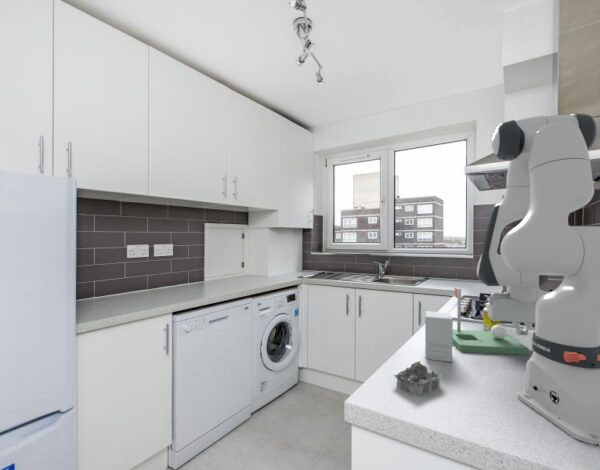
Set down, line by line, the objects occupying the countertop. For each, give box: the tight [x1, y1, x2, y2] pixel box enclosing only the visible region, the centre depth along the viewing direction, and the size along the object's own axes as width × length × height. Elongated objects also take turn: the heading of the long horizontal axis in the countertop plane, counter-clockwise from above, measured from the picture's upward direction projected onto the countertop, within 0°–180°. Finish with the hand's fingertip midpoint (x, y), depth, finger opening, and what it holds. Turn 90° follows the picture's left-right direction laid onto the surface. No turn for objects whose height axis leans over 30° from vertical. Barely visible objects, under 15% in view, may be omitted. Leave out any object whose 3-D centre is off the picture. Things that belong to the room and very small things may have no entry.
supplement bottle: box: [482, 302, 501, 331], centre depth 120 cm, size 6×6×10 cm
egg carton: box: [393, 360, 443, 397], centre depth 77 cm, size 11×8×4 cm
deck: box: [452, 287, 530, 356], centre depth 107 cm, size 19×20×17 cm
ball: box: [491, 324, 508, 339], centre depth 105 cm, size 4×4×4 cm
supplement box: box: [424, 310, 454, 363], centre depth 95 cm, size 7×7×13 cm
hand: (521, 335), depth 104 cm, fingers closed
